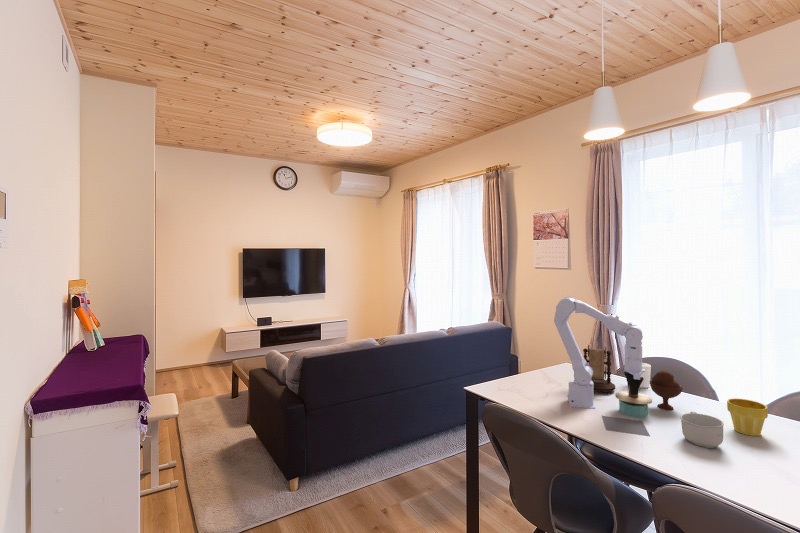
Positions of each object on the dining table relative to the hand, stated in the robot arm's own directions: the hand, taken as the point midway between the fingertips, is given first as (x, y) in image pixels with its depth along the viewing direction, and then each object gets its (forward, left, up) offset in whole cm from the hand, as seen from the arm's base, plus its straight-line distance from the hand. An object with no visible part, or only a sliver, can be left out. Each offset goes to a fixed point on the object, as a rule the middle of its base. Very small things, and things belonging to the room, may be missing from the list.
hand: (633, 392), depth 147 cm
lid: (0, 0, -2) cm, 2 cm away
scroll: (-10, +26, -8) cm, 29 cm away
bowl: (0, 0, -8) cm, 8 cm away
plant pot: (+33, -4, -8) cm, 34 cm away
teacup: (+16, -18, -8) cm, 25 cm away
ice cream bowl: (+13, +11, -8) cm, 19 cm away
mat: (-5, -14, -8) cm, 17 cm away
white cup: (+10, +38, -8) cm, 40 cm away
